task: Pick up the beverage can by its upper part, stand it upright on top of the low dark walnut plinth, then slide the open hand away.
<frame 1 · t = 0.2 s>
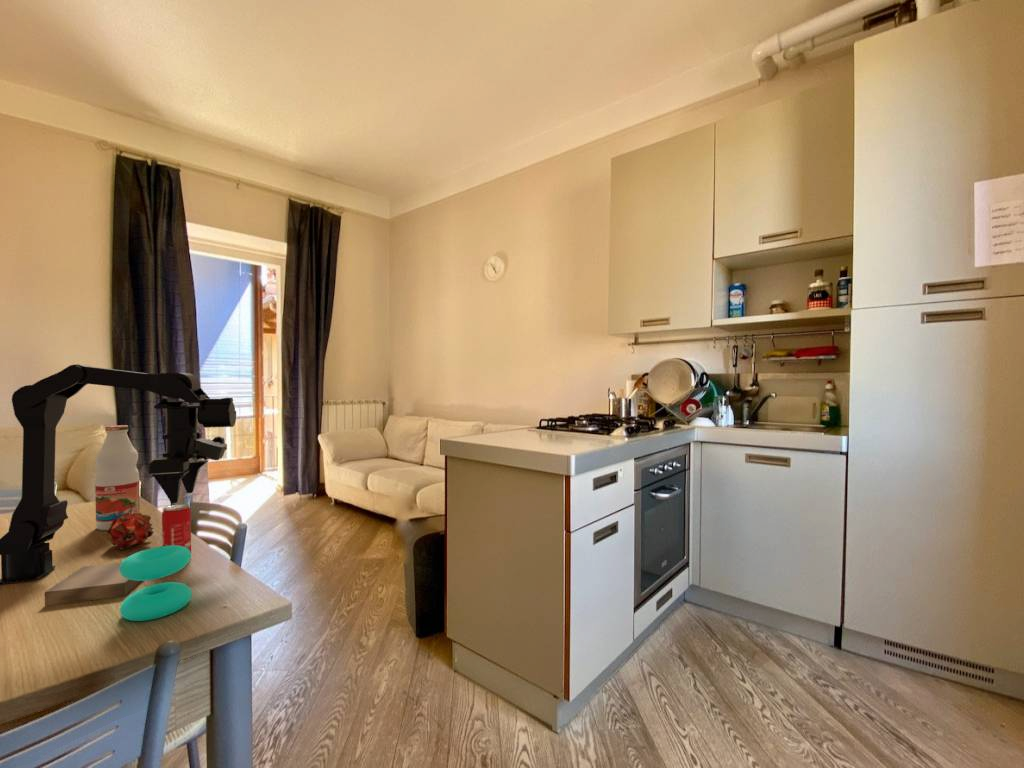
hand: (182, 497, 104), 14 cm above the table, tool pointing down, fingers open, 9 cm apart
dragon fruit: (131, 546, 113), on the table
walnut plinth: (103, 586, 90), on the table
fruit juice: (118, 526, 129), on the table
beverage can: (177, 561, 103), on the table
donuts: (157, 610, 81), on the table
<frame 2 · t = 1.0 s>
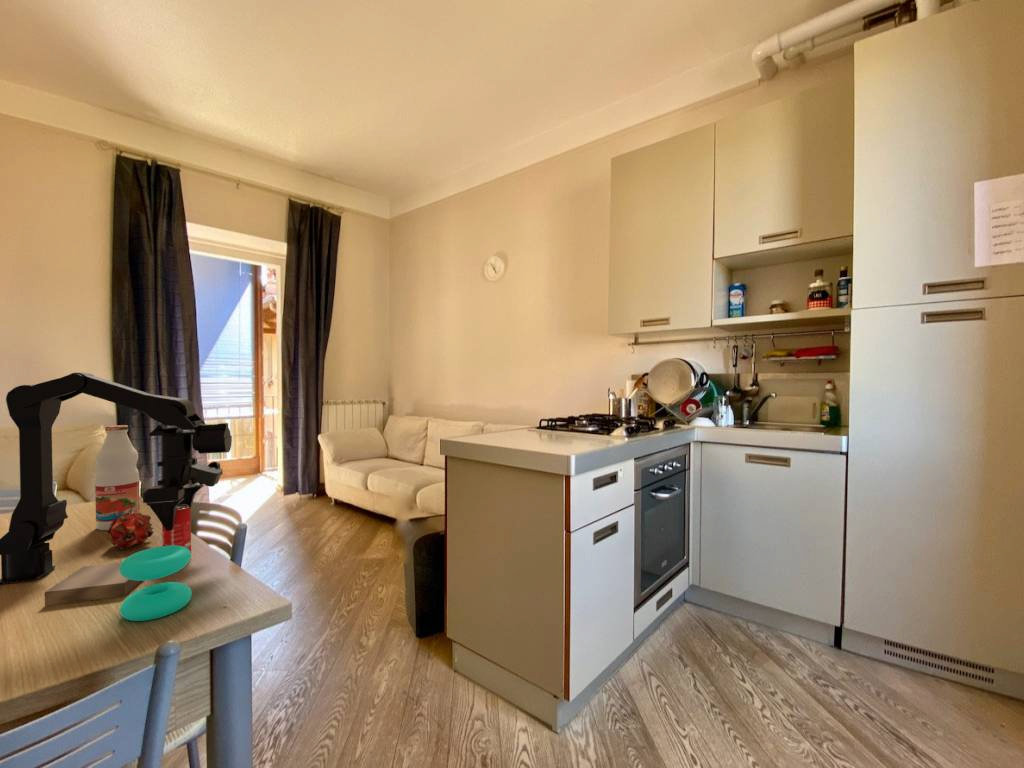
hand: (177, 524, 103), 8 cm above the table, tool pointing down, fingers open, 9 cm apart
nothing on the table moved.
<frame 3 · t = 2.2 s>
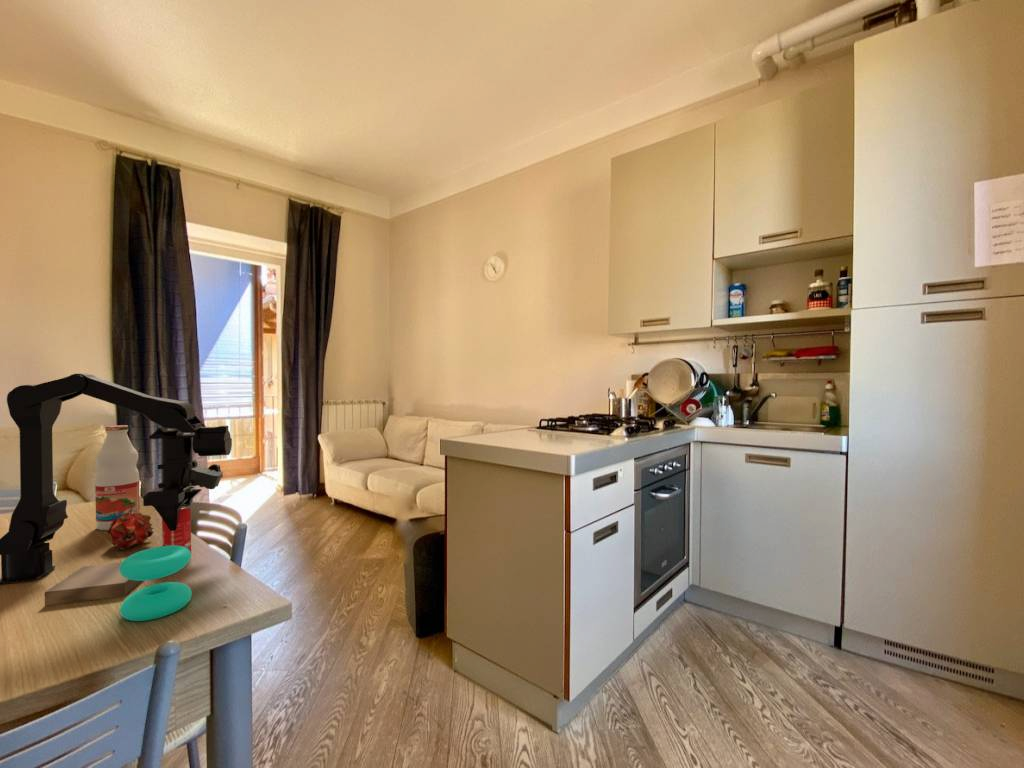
hand: (178, 526, 103), 8 cm above the table, tool pointing down, fingers closed on beverage can, 5 cm apart
beverage can: (177, 561, 103), on the table, touching gripper
everything else where it was.
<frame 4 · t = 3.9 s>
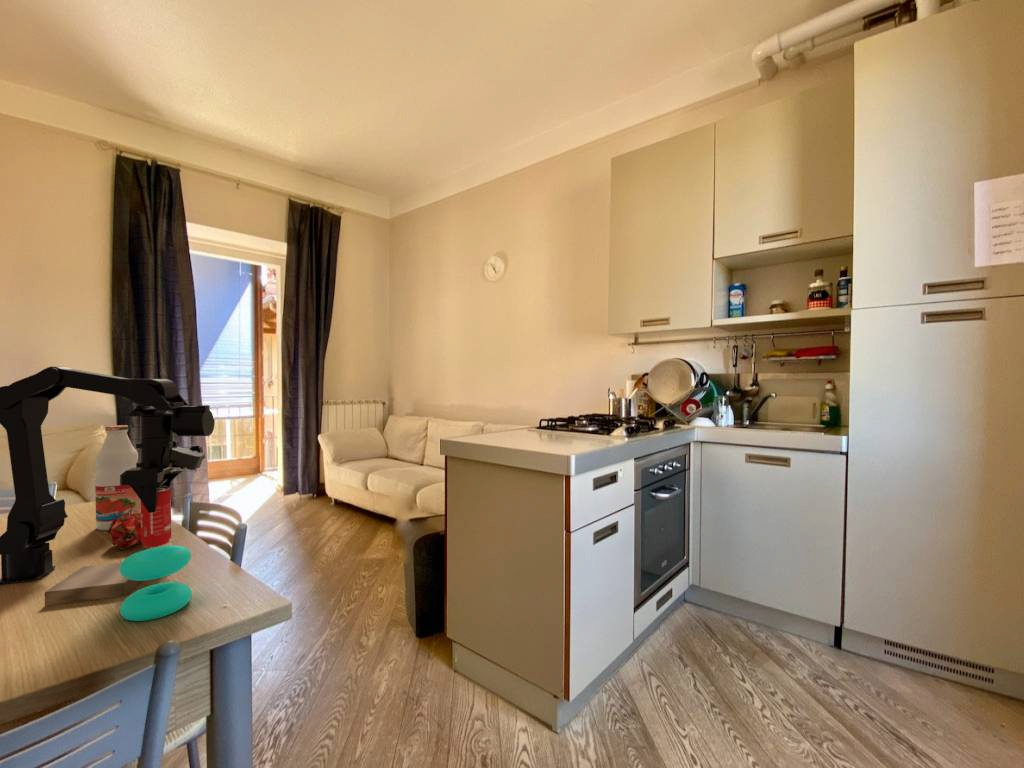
hand: (157, 508, 100), 13 cm above the table, tool pointing down, fingers closed on beverage can, 5 cm apart
beverage can: (156, 544, 100), point 5 cm above the table, touching gripper
everything else where it was.
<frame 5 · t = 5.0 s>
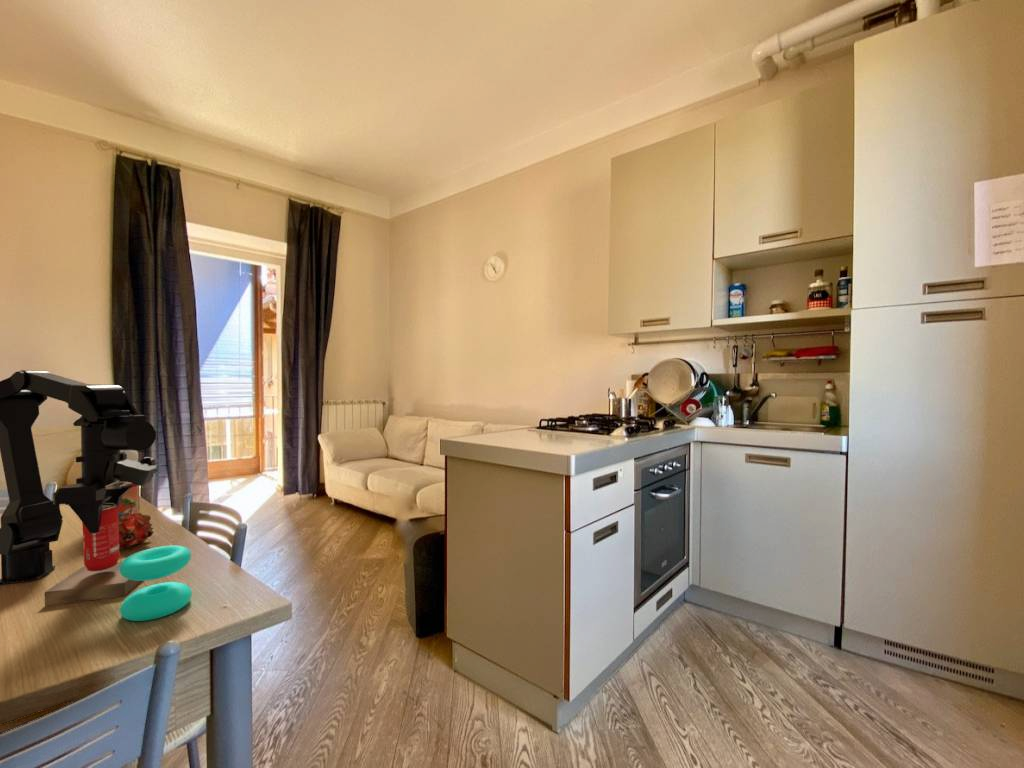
hand: (102, 528, 90), 11 cm above the table, tool pointing down, fingers closed on beverage can, 5 cm apart
beverage can: (102, 567, 91), point 4 cm above the table, touching gripper
everything else where it was.
when the fingers open (11 cm above the table, at t = 5.7 s): beverage can drops 1 cm, resting on walnut plinth.
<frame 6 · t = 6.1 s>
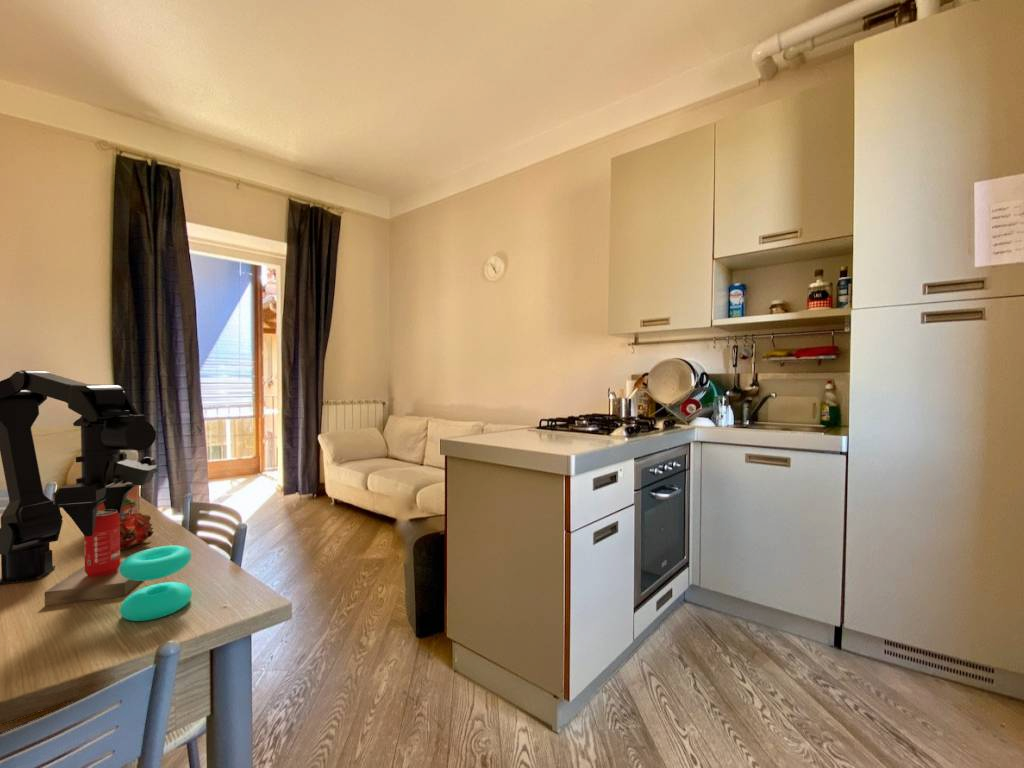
hand: (102, 528, 90), 11 cm above the table, tool pointing down, fingers open, 9 cm apart
beverage can: (102, 574, 91), point 2 cm above the table, touching walnut plinth
everything else where it was.
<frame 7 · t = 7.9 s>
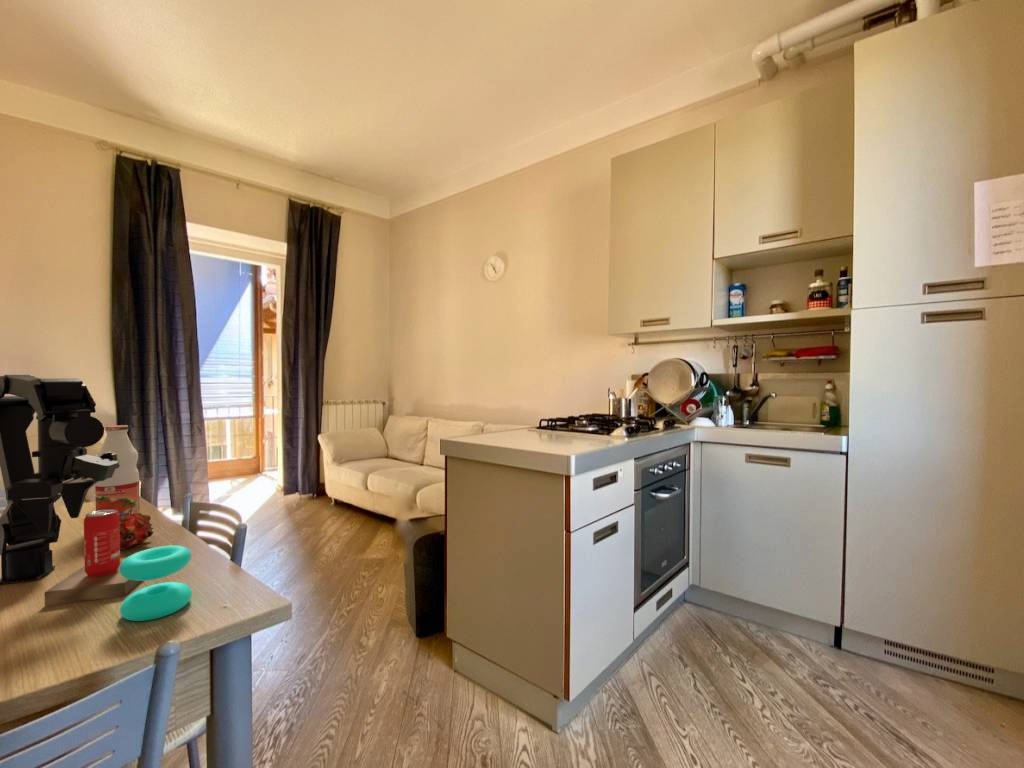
hand: (60, 524, 88), 13 cm above the table, tool pointing down, fingers open, 9 cm apart
nothing on the table moved.
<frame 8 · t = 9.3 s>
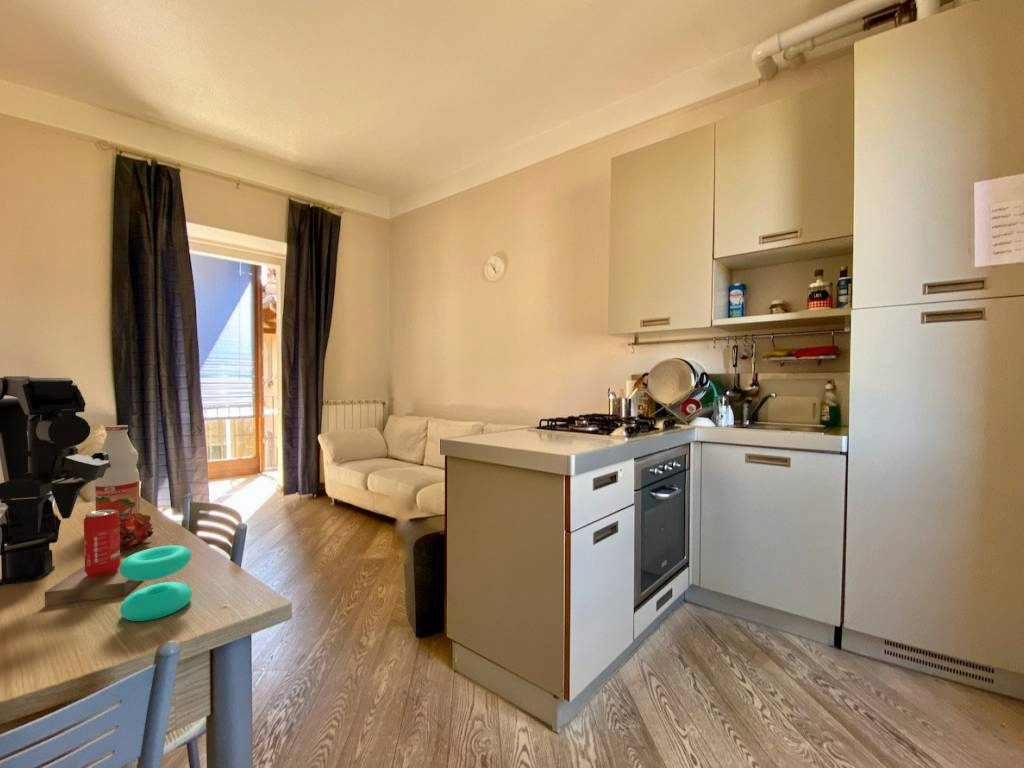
hand: (51, 525, 88), 13 cm above the table, tool pointing down, fingers open, 9 cm apart
nothing on the table moved.
at the end: beverage can inside the target area on the walnut plinth (0.7 cm from its centre), point 2.3 cm above the walnut plinth's base; beverage can touching walnut plinth; beverage can tilted 0° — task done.
